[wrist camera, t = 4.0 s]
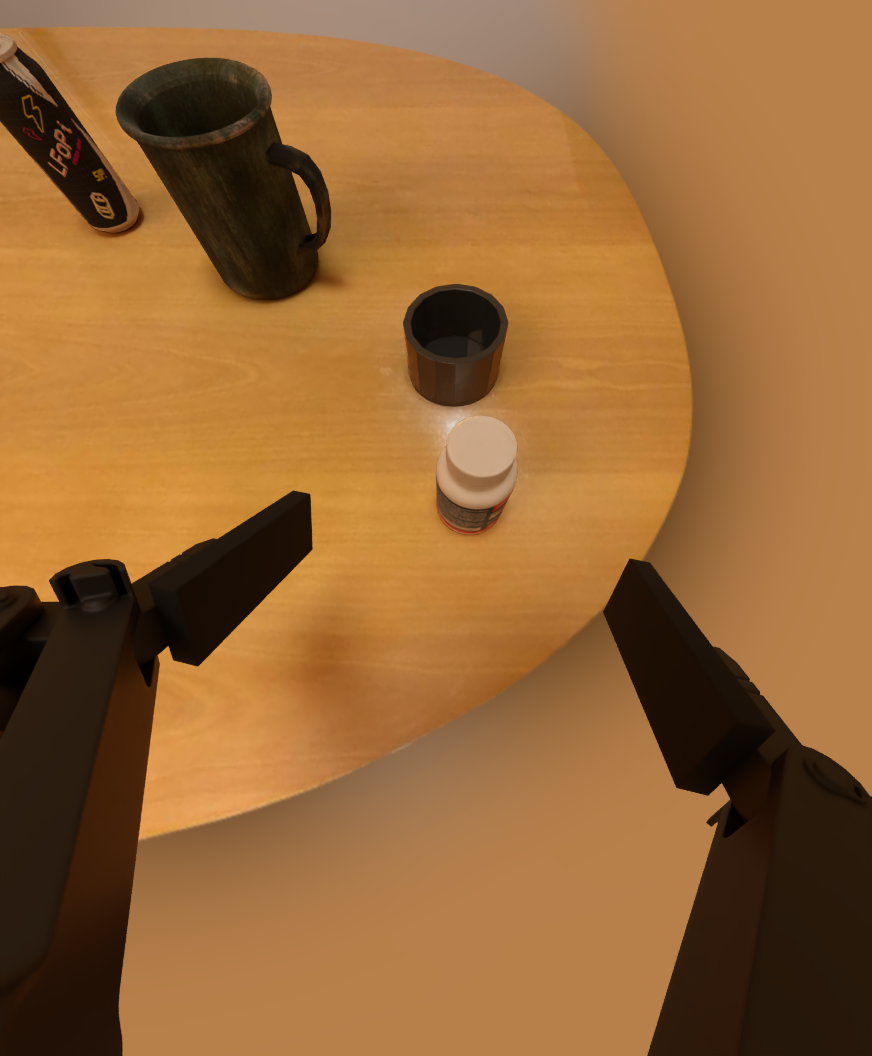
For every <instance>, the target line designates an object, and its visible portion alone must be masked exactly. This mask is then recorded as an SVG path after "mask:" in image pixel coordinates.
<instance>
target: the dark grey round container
mask: <svg viewBox="0 0 872 1056" xmlns="http://www.w3.org/2000/svg"><path fill="white" fill-rule="evenodd" d="M403 326H404V334H405V342H406V350H407V358H408V366H409V371H410V377H411V381H412V383H413V385H414V387H415V388H416V390H417V391H418V392H419V393H420V394H421V395H422V396H423V397H425V398H426V399H428V400H430V401H432V402H434V403H437V404H440V405H444V406H463V405H467V404H471V403H473V402H476V401H478V400H479V399H481V398H482V397H484V396H485V395H486V394H487V393H488V392H489V391H490V390H491V389H492V387H493V386H494V384H495V381H496V379H497V374H498V370H499V365H500V360H501V356H502V351H503V346H504V342H505V337H506V332H507V327H508V320H507V317H506V314H505V310H504V308H503V306H502V305H501V304H500V303H499V302H498V301H497V300H496V299H495V298H494V297H493V295H491V294H489V293H487V292H485V291H483V290H481V289H479V288H477V287H474V286H468V285H461V284H451V285H444V286H437V287H434V288H432V289H430V290H428V291H426V292H424V293H422V294H420V295H419V296H418V297H417V298H416V299H415V300H414V301H413V303H412V304H411V305H410V306H409V307H408V309H407V312H406V315H405V318H404V321H403Z"/></svg>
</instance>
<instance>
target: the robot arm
mask: <svg viewBox="0 0 872 1056" xmlns="http://www.w3.org/2000/svg"><path fill="white" fill-rule="evenodd" d="M312 549H313V548H312V522H311V497H310V494H307V493H303V492H298V491H292V492H290V493H289V494H287V495H286V496H284V497H282V498H281V499H279V500H278V501H276V502H275V503H273V504H272V505H270V506H268V507H267V508H265V509H264V510H262V511H261V512H259V513H257V514H256V515H254V516H253V517H251V518H250V519H248V520H247V521H245V522H243V523H242V524H240V525H239V526H237V527H236V528H234V529H232V530H231V531H229V532H228V533H226V534H225V535H223V536H221V537H220V538H218V539H214V538H213V539H210V540H207V541H204V542H201V543H199V544H196V545H194V546H193V547H191V548H189V549H188V550H186V551H184V552H183V553H182V555H178V556H176V557H175V558H173V559H171V561H170V562H166V563H165V564H163V565H162V566H160V567H158V568H157V569H155V570H153V571H152V572H150V573H148V574H147V575H145V576H144V577H142V578H140V579H139V580H137V581H135V582H134V583H132V584H131V581H130V578H129V576H128V573H127V570H126V567H125V565H124V564H123V563H122V562H120V561H118V560H111V559H101V560H92V561H87V562H82V563H79V564H76V565H73V566H70V567H67V568H65V569H64V570H62V571H60V572H58V573H56V574H55V575H54V576H53V577H52V578H51V579H50V580H49V582H50V584H51V586H52V588H53V590H54V592H55V594H56V596H57V598H58V600H59V602H41V601H40V599H39V597H38V595H37V593H36V592H35V590H34V589H33V588H30V587H28V586H8V587H0V1056H122V1034H121V1028H120V1021H119V992H120V983H121V975H122V967H123V958H124V950H125V942H126V934H127V926H128V918H129V909H130V902H131V894H132V886H133V877H134V869H135V861H136V853H137V845H138V837H139V829H140V821H141V812H142V804H143V796H144V788H145V780H146V772H147V764H148V756H149V747H150V739H151V731H152V723H153V715H154V707H155V699H156V691H157V682H158V674H159V666H160V663H159V659H158V656H157V655H158V654H159V653H161V652H162V651H163V650H164V649H165V648H166V647H167V646H169V649H170V652H171V655H172V658H173V660H174V661H178V662H182V663H186V664H190V665H194V666H199V665H200V664H201V663H202V662H203V661H204V660H205V659H206V658H207V657H208V656H209V655H210V654H211V653H212V652H213V651H214V650H215V649H216V648H217V647H218V646H219V645H220V644H221V643H222V642H223V640H224V639H225V638H226V637H227V636H228V635H229V634H230V633H231V632H232V631H233V630H234V629H235V628H236V627H237V626H238V625H239V624H240V623H241V622H242V621H243V620H244V619H245V618H246V617H247V616H248V615H249V614H250V613H251V612H252V611H253V610H254V609H255V608H256V607H257V606H258V605H259V604H260V603H261V602H262V601H263V600H264V599H265V597H266V596H267V595H268V594H269V593H270V592H271V591H272V590H273V589H274V588H275V587H276V586H277V585H278V584H279V583H280V582H281V581H282V580H283V579H284V578H285V577H286V576H287V575H288V574H289V573H290V572H291V571H292V570H293V569H294V568H295V567H296V566H297V565H298V564H299V563H300V562H301V561H302V560H303V559H304V558H305V557H306V556H307V555H308V553H309V552H310V551H311V550H312ZM603 613H604V615H605V618H606V620H607V622H608V625H609V627H610V630H611V632H612V634H613V637H614V639H615V642H616V644H617V647H618V649H619V651H620V654H621V656H622V658H623V661H624V663H625V665H626V668H627V670H628V673H629V675H630V678H631V680H632V682H633V685H634V687H635V689H636V692H637V695H638V697H639V699H640V702H641V704H642V706H643V709H644V711H645V714H646V716H647V718H648V721H649V723H650V726H651V728H652V730H653V733H654V735H655V738H656V740H657V742H658V744H659V747H660V749H661V752H662V754H663V757H664V759H665V761H666V764H667V766H668V769H669V771H670V774H671V776H672V778H673V781H674V783H675V785H676V788H679V789H683V790H687V791H691V792H695V793H700V794H704V795H707V796H708V795H709V794H710V793H711V792H713V791H714V790H715V789H716V788H717V787H718V786H719V785H720V784H721V783H722V784H723V786H724V788H725V789H726V791H727V793H728V795H729V797H730V800H729V801H728V802H727V803H726V804H725V805H724V806H723V807H722V808H720V809H719V810H718V811H717V812H716V813H715V814H714V815H713V816H711V817H710V818H709V820H708V821H707V824H709V825H710V826H713V825H714V824H715V823H716V822H718V825H717V828H716V831H715V835H714V838H713V841H712V845H711V848H710V851H709V854H708V858H707V861H706V865H705V868H704V871H703V874H702V877H701V881H700V884H699V887H698V891H697V894H696V897H695V900H694V904H693V907H692V911H691V914H690V917H689V920H688V924H687V927H686V930H685V934H684V937H683V940H682V943H681V947H680V950H679V953H678V956H677V960H676V963H675V966H674V970H673V973H672V976H671V980H670V983H669V986H668V989H667V993H666V996H665V999H664V1003H663V1006H662V1009H661V1012H660V1016H659V1019H658V1022H657V1026H656V1029H655V1032H654V1036H653V1039H652V1042H651V1045H650V1049H649V1052H648V1055H647V1056H872V797H871V796H870V795H869V794H868V793H867V791H866V790H865V789H864V788H863V786H862V785H861V784H860V782H858V781H857V780H856V779H855V778H854V777H853V776H852V775H851V774H850V773H849V772H848V771H847V770H846V769H844V768H843V767H842V766H840V765H839V764H838V763H836V762H835V761H833V760H832V759H831V758H829V757H827V756H826V755H824V754H822V753H820V752H818V751H816V750H814V749H812V748H808V747H805V746H803V745H802V744H801V743H800V742H799V741H798V739H797V738H796V737H795V736H794V734H793V733H792V732H791V731H790V729H789V728H788V727H787V725H786V724H785V723H784V722H783V720H782V719H781V718H780V717H779V715H778V714H777V713H776V712H775V710H774V709H773V708H772V706H771V705H770V704H769V703H768V701H767V700H766V699H765V698H764V696H762V695H760V691H759V690H758V689H757V688H756V686H755V685H754V684H753V683H752V682H750V681H749V680H750V679H749V677H748V676H747V675H746V674H745V672H744V671H743V670H742V669H741V667H740V666H739V665H738V664H737V663H736V662H735V661H734V660H733V659H732V658H731V657H729V656H728V655H727V654H726V653H725V652H724V651H722V650H721V649H720V648H717V647H713V646H712V645H711V644H710V643H709V641H708V640H707V638H706V637H705V636H704V634H703V633H702V632H701V630H700V629H699V628H698V626H697V625H696V624H695V622H694V621H693V620H692V618H691V617H690V616H689V614H688V613H687V612H686V610H685V609H684V608H683V606H682V605H681V604H680V602H679V601H678V600H677V598H676V597H675V596H674V594H673V593H672V592H671V590H670V589H669V588H668V586H667V585H666V584H665V583H664V581H663V580H662V578H661V577H660V576H659V574H658V573H657V572H656V570H655V569H654V568H653V566H652V565H651V564H650V563H649V562H644V561H639V560H634V559H629V561H628V563H627V565H626V567H625V569H624V571H623V573H622V575H621V577H620V579H619V581H618V583H617V585H616V587H615V589H614V591H613V593H612V595H611V597H610V599H609V601H608V603H607V605H606V607H605V609H604V611H603Z"/></svg>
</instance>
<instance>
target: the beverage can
mask: <svg viewBox="0 0 872 1056" xmlns="http://www.w3.org/2000/svg"><path fill="white" fill-rule="evenodd" d="M0 122H1V123H2V124H3V125H4V126H5V127H6V129H7V130H8V131H9V132H10V133H11V134H12V136H13V137H14V138H15V139H16V140H17V141H18V143H19V144H20V145H21V146H22V147H23V148H24V149H25V151H26V152H27V153H28V154H29V155H30V156H31V158H32V159H33V160H34V161H35V162H36V163H37V165H38V166H39V167H40V168H41V169H42V170H43V171H44V173H45V174H46V175H47V176H48V177H49V178H50V180H51V181H52V182H53V183H54V184H55V185H56V187H57V188H58V189H59V190H60V191H61V192H62V193H63V195H64V196H65V197H66V198H67V199H68V200H69V202H70V203H71V204H72V205H73V206H74V207H75V209H76V210H77V211H78V212H79V213H80V214H81V216H82V217H83V218H84V219H85V220H86V221H87V222H88V224H89V225H91V226H92V227H93V228H95V229H97V230H101V231H107V232H111V233H116V232H121V231H124V230H127V229H128V228H130V227H131V226H133V225H134V224H135V222H136V221H137V216H138V213H139V205H138V203H137V201H136V200H135V199H134V197H133V196H132V194H131V193H130V192H129V190H128V189H127V187H126V186H125V184H124V183H123V182H122V180H121V179H120V177H119V176H118V175H117V173H116V172H115V170H114V169H113V168H112V166H111V165H110V163H109V162H108V160H107V159H106V158H105V156H104V155H103V153H102V152H101V151H100V149H99V148H98V146H97V145H96V144H95V142H94V141H93V139H92V138H91V136H90V135H89V134H88V132H87V131H86V129H85V128H84V127H83V125H82V124H81V122H80V121H79V119H78V118H77V117H76V115H75V114H74V112H73V111H72V110H71V108H70V107H69V105H68V104H67V103H66V101H65V100H64V98H63V97H62V95H61V94H60V93H59V91H58V90H57V88H56V87H55V86H54V84H53V83H52V81H51V80H50V79H49V77H48V76H47V74H46V73H45V71H44V70H43V69H42V68H41V66H40V65H39V64H38V63H37V62H36V61H34V60H33V59H32V58H30V57H29V56H28V55H26V54H25V53H24V52H23V51H22V50H21V49H19V48H18V47H17V45H16V43H15V42H14V40H13V39H12V38H11V37H10V36H7V35H5V34H0Z"/></svg>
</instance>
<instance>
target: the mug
mask: <svg viewBox="0 0 872 1056" xmlns="http://www.w3.org/2000/svg"><path fill="white" fill-rule="evenodd" d="M271 99H272V95H271V89H270V86H269V84H268V83H267V81H266V79H265V77H264V76H263V75H262V74H261V73H260V72H258V71H257V70H255V69H254V68H252V67H250V66H248V65H246V64H244V63H241V62H238V61H234V60H229V59H221V58H196V59H189V60H182V61H178V62H173V63H170V64H167V65H163V66H161V67H158V68H156V69H153V70H151V71H149V72H147V73H145V74H143V75H142V76H140V77H139V78H137V79H135V80H134V81H133V82H132V83H131V84H129V85H128V86H127V87H126V88H125V90H124V91H123V92H122V94H121V95H120V97H119V99H118V102H117V105H116V116H117V120H118V122H119V124H120V126H121V128H122V129H123V130H124V131H125V132H126V133H127V134H128V135H129V136H130V137H131V138H133V139H134V140H136V141H137V142H138V144H139V145H140V147H141V148H142V150H143V151H144V153H145V155H146V156H147V158H148V159H149V161H150V163H151V164H152V166H153V167H154V169H155V171H156V172H157V174H158V176H159V177H160V179H161V180H162V182H163V184H164V185H165V187H166V189H167V190H168V192H169V193H170V195H171V197H172V198H173V200H174V201H175V203H176V205H177V206H178V208H179V210H180V211H181V213H182V214H183V216H184V218H185V219H186V221H187V222H188V224H189V226H190V227H191V229H192V231H193V232H194V234H195V235H196V237H197V239H198V240H199V242H200V243H201V245H202V247H203V248H204V250H205V252H206V253H207V255H208V256H209V258H210V260H211V261H212V263H213V264H214V266H215V268H216V269H217V271H218V273H219V274H220V276H221V277H222V279H223V281H224V282H225V283H226V284H227V285H228V286H229V287H230V288H231V289H233V290H234V291H236V292H237V293H239V294H241V295H243V296H245V297H249V298H252V299H259V300H270V299H277V298H282V297H285V296H288V295H290V294H293V293H295V292H297V291H298V290H300V289H301V288H303V287H304V286H305V285H306V284H307V283H308V282H309V281H310V280H311V279H312V277H313V276H314V274H315V271H316V268H317V263H318V253H317V249H319V248H320V247H321V246H322V245H323V244H324V243H325V242H326V239H327V237H328V234H329V231H330V228H331V207H330V200H329V194H328V190H327V187H326V184H325V182H324V179H323V176H322V174H321V171H320V170H319V168H318V167H317V166H316V164H315V163H314V162H313V160H312V159H311V158H310V156H309V155H308V154H306V153H304V152H302V151H300V150H298V149H296V148H294V147H292V146H288V145H283V144H282V141H281V138H280V135H279V132H278V129H277V126H276V123H275V120H274V117H273V114H272V111H271V107H270V105H271ZM292 172H293V173H296V174H298V175H299V176H300V177H301V178H302V180H303V181H304V182H305V184H306V185H307V186H308V188H309V189H310V192H311V195H312V198H313V201H314V203H315V208H316V215H317V232H316V233H315V234H312V233H311V230H310V227H309V224H308V221H307V218H306V215H305V212H304V209H303V206H302V203H301V200H300V197H299V194H298V191H297V187H296V184H295V181H294V178H293V175H292Z"/></svg>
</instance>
